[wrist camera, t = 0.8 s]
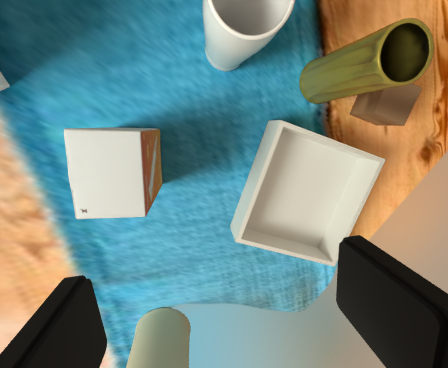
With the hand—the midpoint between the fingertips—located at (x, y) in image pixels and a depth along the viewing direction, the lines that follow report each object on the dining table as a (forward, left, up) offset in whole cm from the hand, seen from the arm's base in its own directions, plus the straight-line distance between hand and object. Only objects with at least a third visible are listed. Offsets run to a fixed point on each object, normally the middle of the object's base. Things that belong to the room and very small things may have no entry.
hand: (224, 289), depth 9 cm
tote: (-1, +15, -27) cm, 31 cm away
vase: (-17, +12, -27) cm, 34 cm away
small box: (+1, -9, -27) cm, 28 cm away
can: (+29, +2, -27) cm, 40 cm away
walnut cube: (-17, +21, -27) cm, 38 cm away
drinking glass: (-16, -2, -27) cm, 31 cm away
